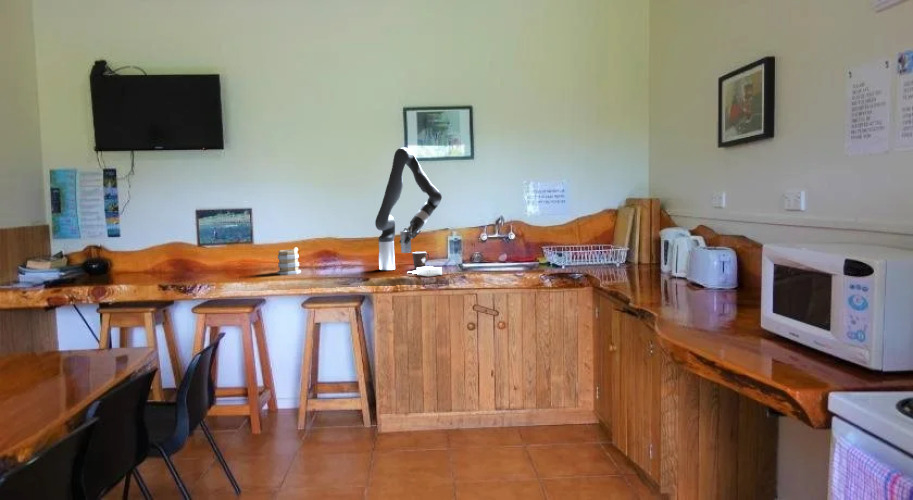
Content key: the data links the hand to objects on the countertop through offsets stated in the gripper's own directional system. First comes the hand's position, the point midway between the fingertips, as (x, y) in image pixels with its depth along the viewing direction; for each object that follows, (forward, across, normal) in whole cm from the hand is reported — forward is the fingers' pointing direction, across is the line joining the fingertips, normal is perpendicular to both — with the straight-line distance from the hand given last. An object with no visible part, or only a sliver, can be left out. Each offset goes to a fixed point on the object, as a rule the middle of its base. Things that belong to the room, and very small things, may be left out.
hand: (403, 242), depth 323 cm
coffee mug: (-4, -18, +30) cm, 36 cm away
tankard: (+38, -68, -14) cm, 79 cm away
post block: (+5, +4, +21) cm, 22 cm away
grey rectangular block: (+3, 0, +5) cm, 6 cm away
